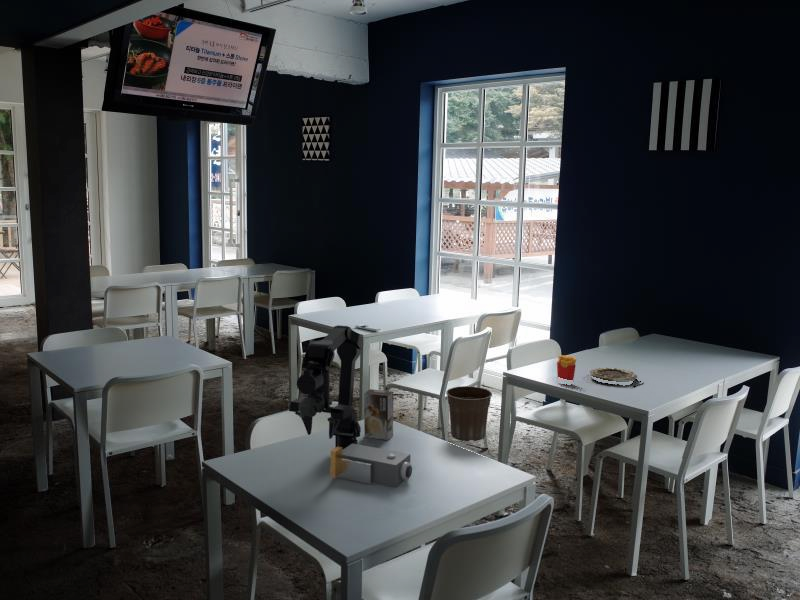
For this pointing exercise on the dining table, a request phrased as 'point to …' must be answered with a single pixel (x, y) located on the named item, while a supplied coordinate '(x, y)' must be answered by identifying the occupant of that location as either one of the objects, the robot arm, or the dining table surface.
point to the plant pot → (468, 412)
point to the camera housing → (382, 463)
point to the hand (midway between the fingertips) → (319, 436)
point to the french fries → (566, 367)
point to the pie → (613, 374)
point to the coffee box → (378, 414)
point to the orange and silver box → (349, 468)
